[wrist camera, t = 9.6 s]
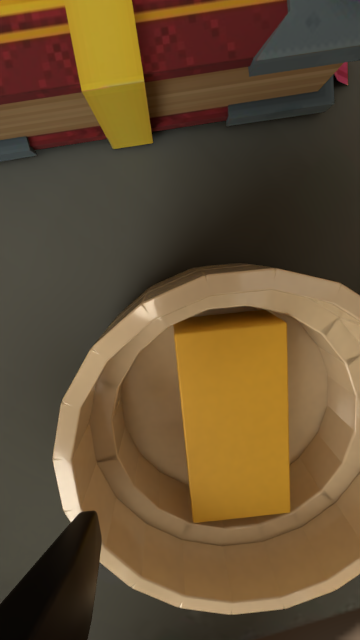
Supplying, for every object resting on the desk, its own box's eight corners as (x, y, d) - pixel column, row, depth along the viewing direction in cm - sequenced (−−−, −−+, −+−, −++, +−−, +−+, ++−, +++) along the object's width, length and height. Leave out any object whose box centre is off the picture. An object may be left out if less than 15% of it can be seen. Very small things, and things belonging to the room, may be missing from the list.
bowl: (346, 489, 16) (425, 594, 11) (113, 515, 16) (88, 632, 11) (353, 251, 13) (461, 249, 8) (73, 278, 13) (16, 292, 8)
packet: (271, 470, 15) (291, 513, 12) (189, 479, 15) (193, 524, 12) (265, 309, 13) (288, 322, 11) (172, 318, 13) (173, 333, 11)
